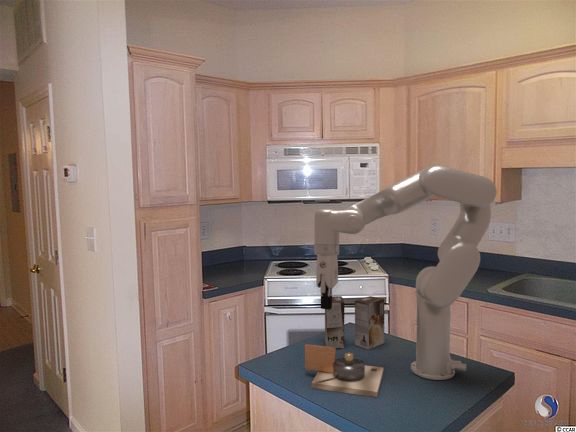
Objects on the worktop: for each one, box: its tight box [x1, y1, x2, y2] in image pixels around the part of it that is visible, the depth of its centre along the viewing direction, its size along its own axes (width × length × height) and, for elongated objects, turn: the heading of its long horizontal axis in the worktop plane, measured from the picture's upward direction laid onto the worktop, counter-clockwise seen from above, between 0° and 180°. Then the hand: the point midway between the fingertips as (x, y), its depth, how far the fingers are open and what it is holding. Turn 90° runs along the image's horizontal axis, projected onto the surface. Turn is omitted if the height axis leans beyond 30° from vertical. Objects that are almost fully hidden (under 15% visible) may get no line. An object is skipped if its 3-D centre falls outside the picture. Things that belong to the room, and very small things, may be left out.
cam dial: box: [304, 343, 366, 381], centre depth 128 cm, size 18×9×7 cm, turn 72°
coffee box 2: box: [354, 295, 385, 350], centre depth 154 cm, size 9×6×16 cm
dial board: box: [311, 364, 384, 398], centre depth 127 cm, size 18×16×2 cm
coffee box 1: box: [324, 295, 346, 349], centre depth 155 cm, size 9×6×16 cm
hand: (326, 308), depth 134 cm, fingers closed
